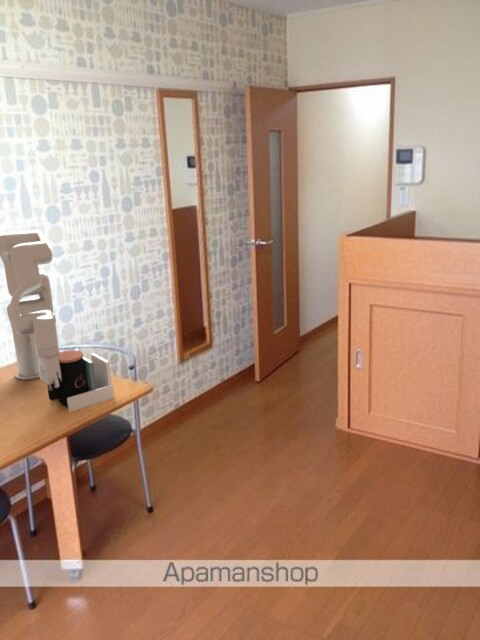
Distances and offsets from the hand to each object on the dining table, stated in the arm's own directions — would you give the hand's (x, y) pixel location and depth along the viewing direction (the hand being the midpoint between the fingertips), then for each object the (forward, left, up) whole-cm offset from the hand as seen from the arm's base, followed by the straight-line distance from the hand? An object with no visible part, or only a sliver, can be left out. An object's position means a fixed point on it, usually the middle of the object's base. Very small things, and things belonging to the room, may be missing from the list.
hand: (54, 398), depth 215 cm
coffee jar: (0, +7, -3) cm, 8 cm away
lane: (0, +11, -3) cm, 11 cm away
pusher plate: (0, +12, -3) cm, 13 cm away
